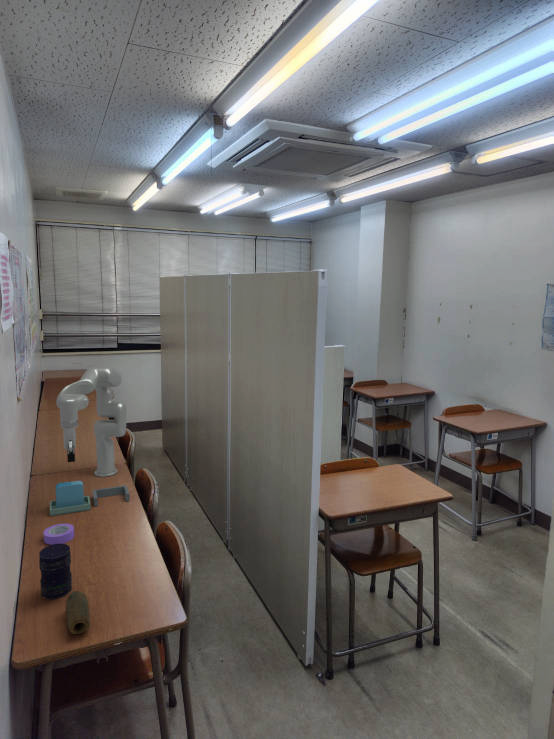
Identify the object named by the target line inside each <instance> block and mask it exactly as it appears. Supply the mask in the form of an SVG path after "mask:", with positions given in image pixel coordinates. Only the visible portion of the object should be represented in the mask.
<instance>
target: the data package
mask: <svg viewBox="0 0 554 739" xmlns="http://www.w3.org/2000/svg"><path fill="white" fill-rule="evenodd" d="M83 482H84V481H82V480H76V481H75V480H74V481H66V482H60V483H57V484H56V485H55V500H56V507H57V508H63V507H70V506H77V505H83V504H84V496H85V495H84V483H83Z"/></svg>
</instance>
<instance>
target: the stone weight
mask: <svg viewBox="0 0 554 739" xmlns="http://www.w3.org/2000/svg"><path fill="white" fill-rule="evenodd" d="M65 614H66V615H65V617H66V625H67V629H68V631H69V633H71V634H73V635H78V634H79V635H80V634H83V633H85V632H87V631H88V629H89V628H90V622H91V618H90V617H91V616H90V608H89V602H88V598H87V596H86V594H85V593H84V592H83V591H81V590H75V591H72V592H71V593H70V594H69V595H68V597H67V598H66V602H65Z"/></svg>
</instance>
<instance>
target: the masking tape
mask: <svg viewBox="0 0 554 739" xmlns="http://www.w3.org/2000/svg"><path fill="white" fill-rule="evenodd" d="M74 538H75V527H74V525H73V524H70V523H58V524H54V525H51V526H49V527H47V528H46V529H45V530H44V531H43V542H44V543H45V544H47V545H49V544H50V545H53V544H66V543H68V542H70V541H72V540H73V539H74ZM50 545H49V546H50Z"/></svg>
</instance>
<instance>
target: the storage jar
mask: <svg viewBox="0 0 554 739" xmlns="http://www.w3.org/2000/svg"><path fill="white" fill-rule="evenodd" d="M71 556H72V555H71V548H70V545H68V544H66V543H63V544H53V545H48V546H45V547H43V548H42V549H41V550H40V551H39V553H38V557H39V560H38V562H39V570H40V580H39V581H40V583H39V584H40V590H41V597H42V596H43V597H45V598H47V599H46V600H56V598H58V599H61V598H64V597H65V596H67V595H68V594H69V593H70V592H71V591H72V589H73V585H72V582H73V578H72V576H73V575H72V571H71V564H72V557H71ZM43 597H42V598H43ZM60 597H61V598H60ZM45 598H44V599H45Z"/></svg>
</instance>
